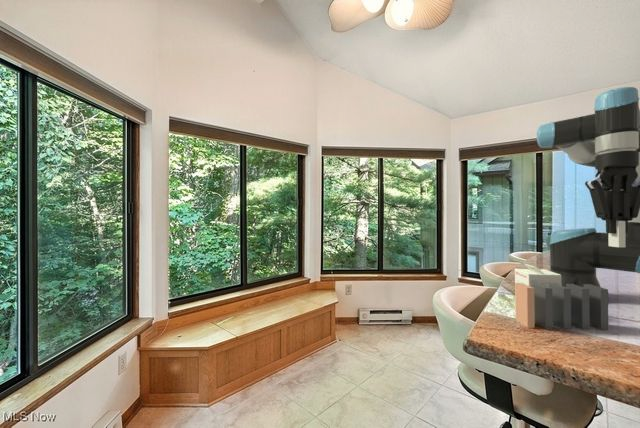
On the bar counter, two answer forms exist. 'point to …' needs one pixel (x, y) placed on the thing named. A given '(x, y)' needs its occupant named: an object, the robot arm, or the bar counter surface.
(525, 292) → the domino
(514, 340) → the bar counter surface
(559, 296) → the domino
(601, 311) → the domino
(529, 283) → the ink box
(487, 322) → the bar counter surface
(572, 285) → the domino
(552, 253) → the robot arm
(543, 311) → the domino
